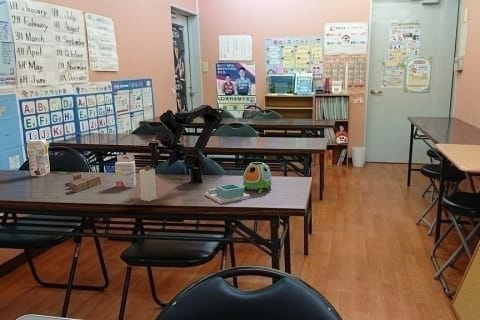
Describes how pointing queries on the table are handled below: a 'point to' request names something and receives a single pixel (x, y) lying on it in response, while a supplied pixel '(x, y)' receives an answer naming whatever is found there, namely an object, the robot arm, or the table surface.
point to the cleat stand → (227, 193)
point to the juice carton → (38, 157)
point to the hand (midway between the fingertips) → (159, 165)
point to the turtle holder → (257, 176)
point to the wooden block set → (84, 182)
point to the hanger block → (147, 184)
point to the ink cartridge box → (125, 171)
